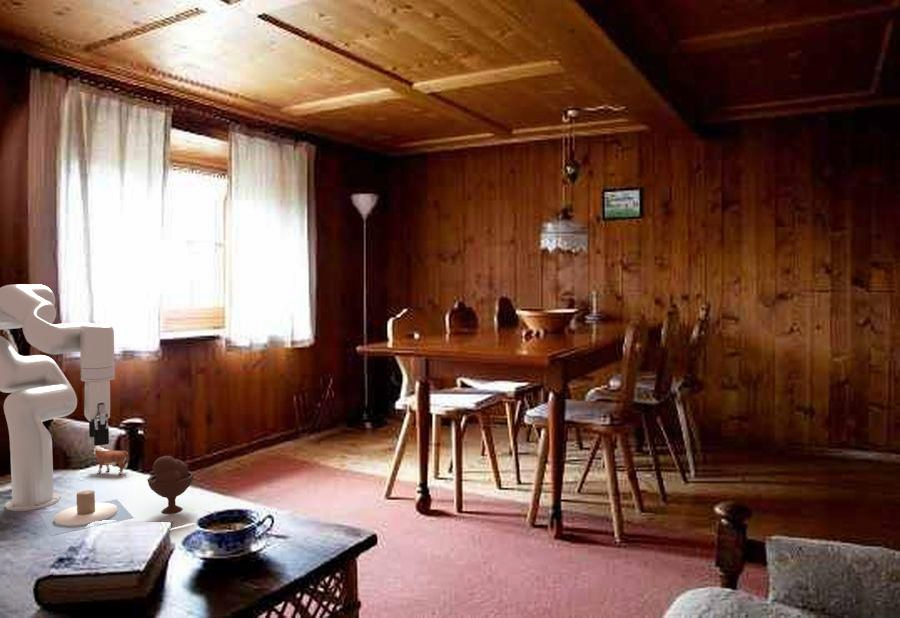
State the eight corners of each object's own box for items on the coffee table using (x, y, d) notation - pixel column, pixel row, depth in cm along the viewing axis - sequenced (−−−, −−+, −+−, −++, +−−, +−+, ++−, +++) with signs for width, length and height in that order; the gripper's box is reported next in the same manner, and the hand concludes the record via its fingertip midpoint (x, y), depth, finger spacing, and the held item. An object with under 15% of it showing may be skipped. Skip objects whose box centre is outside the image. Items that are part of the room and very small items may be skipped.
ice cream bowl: (178, 521, 163) (177, 462, 163) (139, 518, 166) (137, 459, 165) (203, 506, 174) (201, 451, 173) (165, 504, 176) (164, 449, 175)
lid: (50, 515, 167) (49, 491, 167) (110, 502, 176) (109, 480, 176) (59, 531, 156) (58, 506, 156) (123, 517, 165) (122, 493, 165)
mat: (40, 516, 167) (39, 514, 167) (116, 501, 179) (116, 499, 179) (51, 537, 153) (50, 535, 153) (133, 519, 165) (133, 517, 165)
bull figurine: (98, 469, 210) (97, 443, 209) (132, 472, 206) (131, 446, 205) (87, 472, 205) (86, 447, 205) (121, 476, 202) (120, 450, 201)
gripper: (77, 370, 170) (78, 435, 171) (84, 379, 155) (86, 450, 156) (109, 368, 174) (110, 431, 175) (119, 377, 160) (120, 446, 161)
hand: (98, 440), depth 166 cm, fingers open, 9 cm apart
